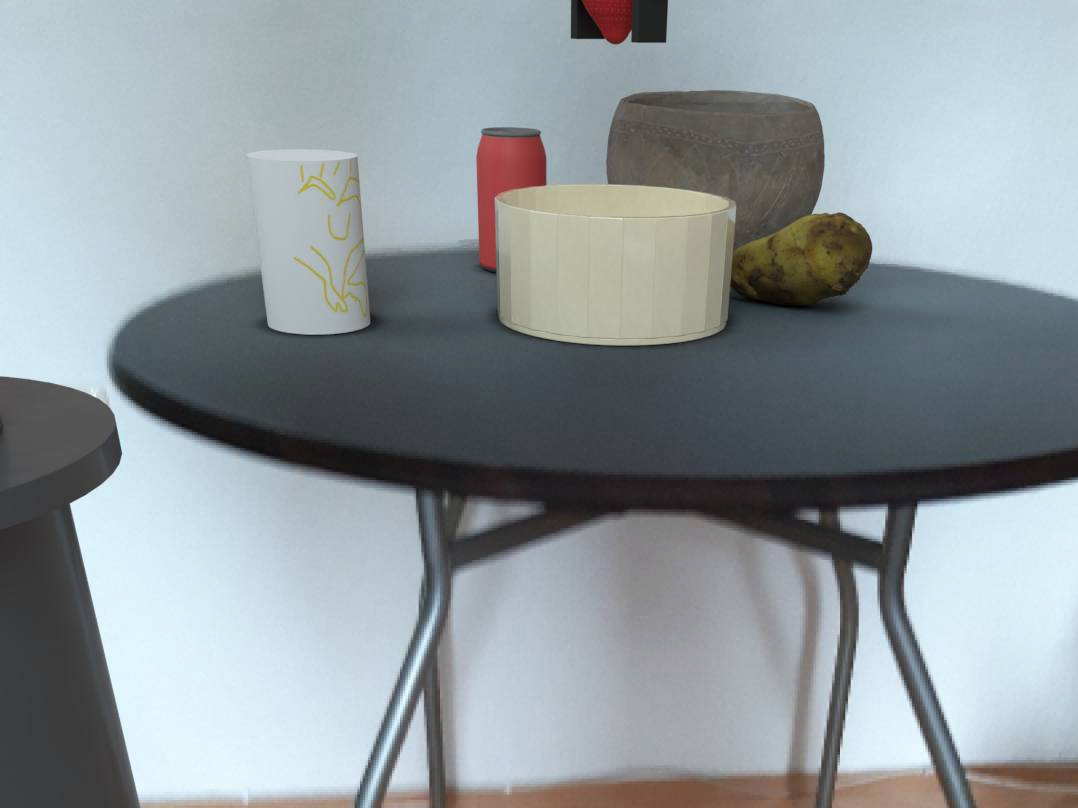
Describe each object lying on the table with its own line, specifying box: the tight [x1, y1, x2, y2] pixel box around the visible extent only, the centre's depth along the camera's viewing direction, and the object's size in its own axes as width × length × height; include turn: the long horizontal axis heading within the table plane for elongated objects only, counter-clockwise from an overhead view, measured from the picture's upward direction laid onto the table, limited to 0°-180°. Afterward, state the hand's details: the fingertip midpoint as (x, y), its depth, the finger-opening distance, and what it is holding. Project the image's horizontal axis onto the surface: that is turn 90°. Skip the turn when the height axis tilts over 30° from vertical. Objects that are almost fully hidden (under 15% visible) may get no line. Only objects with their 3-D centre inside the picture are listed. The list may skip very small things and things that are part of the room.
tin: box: [495, 183, 736, 347], centre depth 98 cm, size 19×19×9 cm
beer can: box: [475, 126, 548, 274], centre depth 114 cm, size 7×7×12 cm
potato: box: [730, 211, 873, 307], centre depth 103 cm, size 8×13×8 cm, turn 31°
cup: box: [246, 148, 371, 336], centre depth 93 cm, size 8×8×12 cm
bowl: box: [605, 89, 826, 252], centre depth 116 cm, size 21×21×15 cm
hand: (617, 40), depth 87 cm, fingers closed on strawberry, 6 cm apart
